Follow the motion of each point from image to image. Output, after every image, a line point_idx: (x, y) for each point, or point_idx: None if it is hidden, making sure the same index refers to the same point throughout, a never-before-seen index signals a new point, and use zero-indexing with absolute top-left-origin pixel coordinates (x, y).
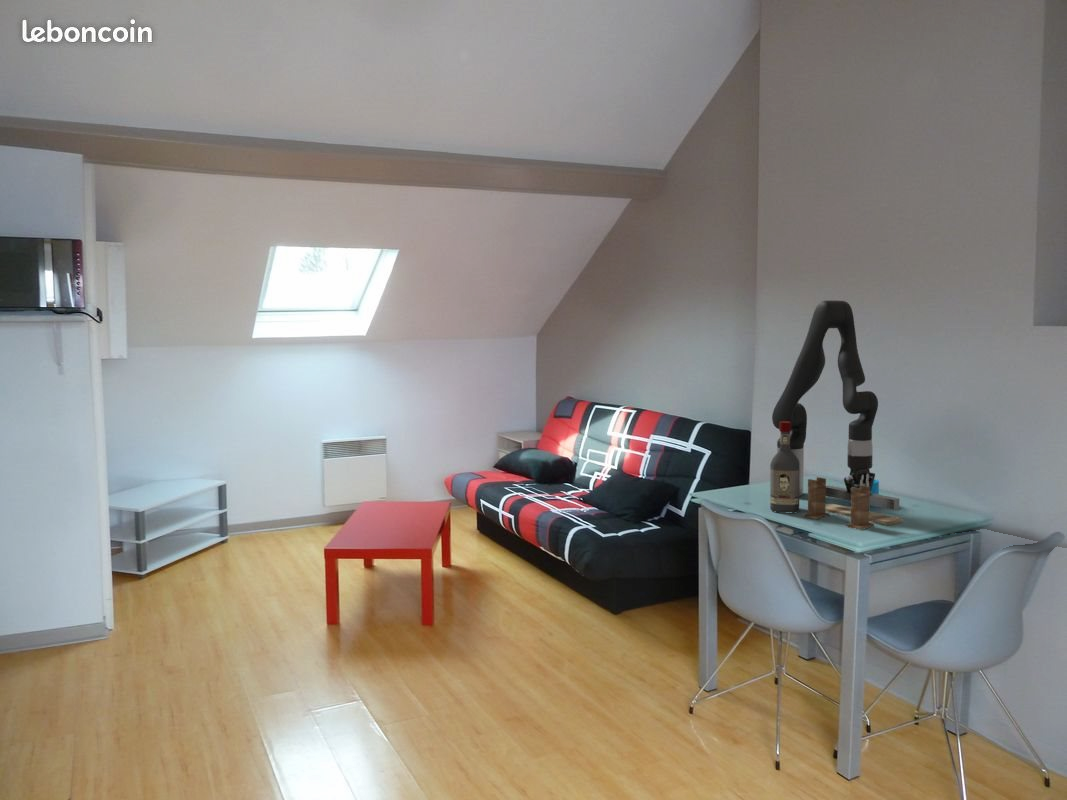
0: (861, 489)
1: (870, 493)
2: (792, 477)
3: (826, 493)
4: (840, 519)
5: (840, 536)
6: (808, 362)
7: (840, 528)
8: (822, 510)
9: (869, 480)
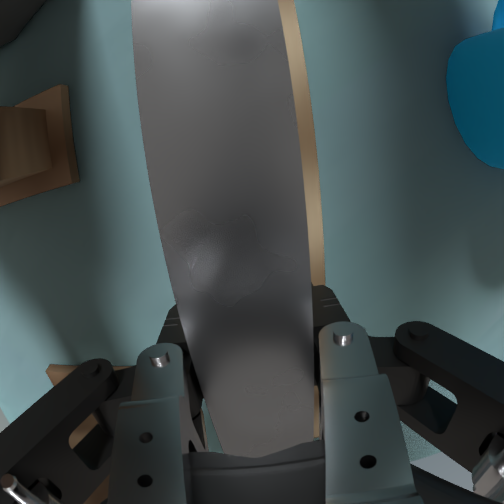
0: None
1: (303, 441)
2: None
3: None
4: (86, 272)
5: (3, 402)
6: None
7: (24, 363)
8: (16, 179)
9: (465, 447)
